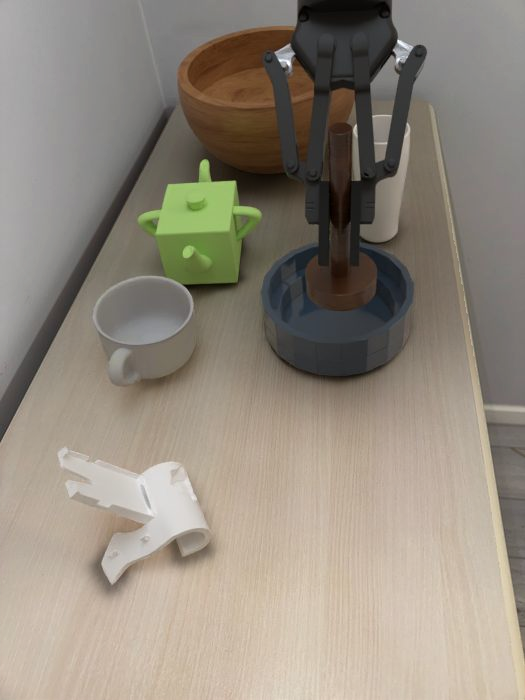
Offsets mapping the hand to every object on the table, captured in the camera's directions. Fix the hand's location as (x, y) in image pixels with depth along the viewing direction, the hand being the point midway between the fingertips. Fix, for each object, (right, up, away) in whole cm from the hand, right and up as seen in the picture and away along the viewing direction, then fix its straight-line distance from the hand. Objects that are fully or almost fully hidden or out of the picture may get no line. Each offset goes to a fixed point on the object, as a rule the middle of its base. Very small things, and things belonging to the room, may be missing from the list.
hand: (339, 264), depth 55 cm
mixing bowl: (+2, -4, +24) cm, 24 cm away
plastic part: (-16, -24, +8) cm, 30 cm away
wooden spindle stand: (+1, -1, +7) cm, 7 cm away
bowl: (-4, +22, +49) cm, 54 cm away
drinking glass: (+9, +9, +35) cm, 37 cm away
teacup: (-19, -9, +22) cm, 31 cm away
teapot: (-13, +4, +34) cm, 36 cm away
